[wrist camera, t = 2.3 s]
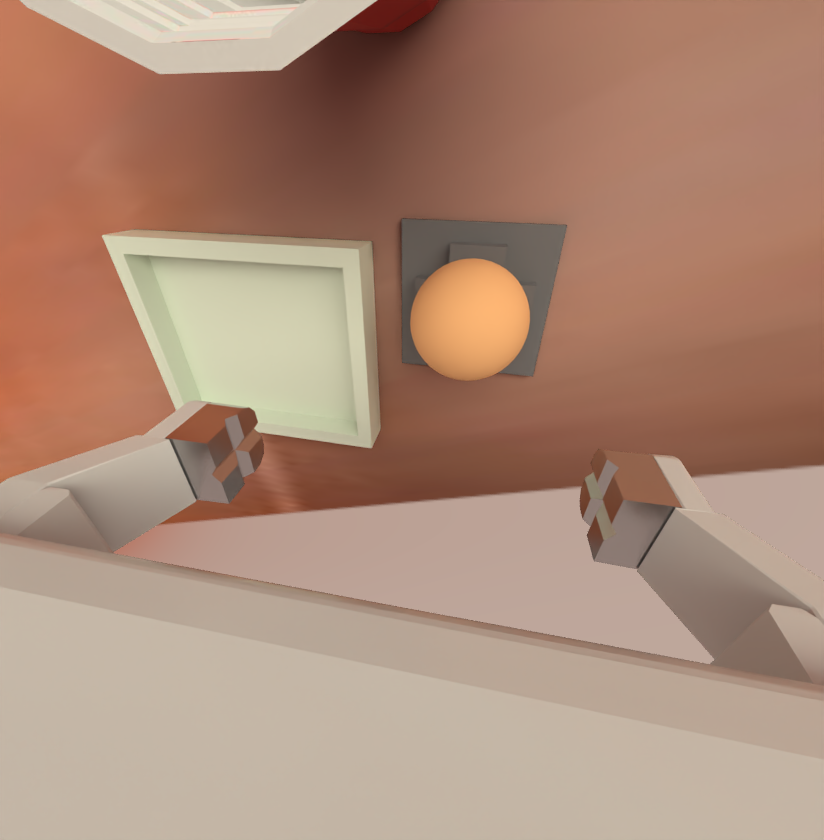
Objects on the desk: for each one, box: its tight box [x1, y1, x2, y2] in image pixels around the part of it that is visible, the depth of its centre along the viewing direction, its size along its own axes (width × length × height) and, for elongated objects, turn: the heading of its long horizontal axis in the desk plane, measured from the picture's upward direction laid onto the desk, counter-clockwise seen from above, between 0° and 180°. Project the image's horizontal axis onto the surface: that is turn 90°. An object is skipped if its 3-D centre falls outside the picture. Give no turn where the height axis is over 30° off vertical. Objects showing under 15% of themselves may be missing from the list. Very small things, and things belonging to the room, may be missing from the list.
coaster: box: [402, 218, 567, 376], centre depth 18 cm, size 7×7×1 cm
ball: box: [410, 258, 530, 381], centre depth 16 cm, size 5×5×5 cm
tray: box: [102, 229, 381, 448], centre depth 21 cm, size 13×11×2 cm
